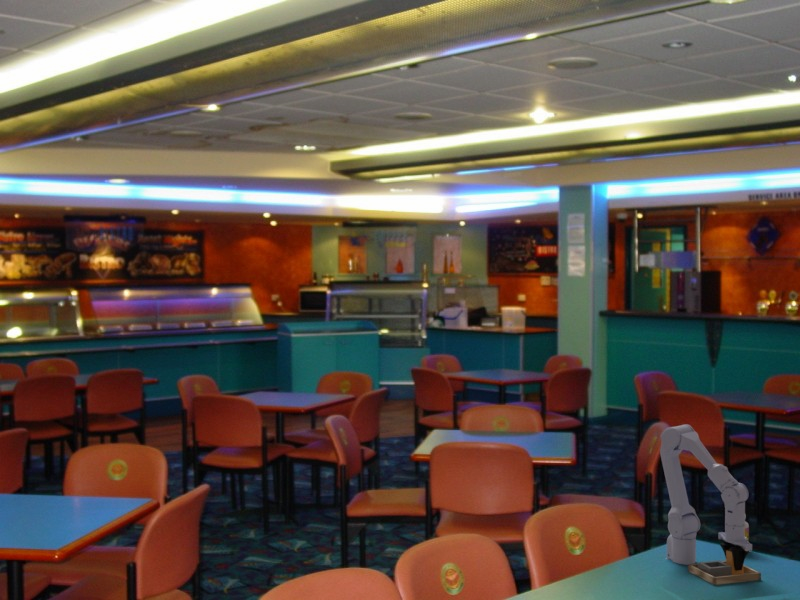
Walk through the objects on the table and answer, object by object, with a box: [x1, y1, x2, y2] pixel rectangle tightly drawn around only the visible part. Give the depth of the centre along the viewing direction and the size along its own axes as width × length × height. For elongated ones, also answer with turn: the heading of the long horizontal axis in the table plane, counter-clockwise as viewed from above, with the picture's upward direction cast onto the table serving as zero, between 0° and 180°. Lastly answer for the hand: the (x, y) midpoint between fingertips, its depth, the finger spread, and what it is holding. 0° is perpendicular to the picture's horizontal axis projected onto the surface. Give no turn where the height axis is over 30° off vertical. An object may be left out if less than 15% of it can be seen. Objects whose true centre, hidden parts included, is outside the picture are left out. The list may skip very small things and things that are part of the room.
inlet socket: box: [697, 560, 732, 577], centre depth 304 cm, size 6×7×4 cm
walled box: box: [687, 560, 762, 586], centre depth 305 cm, size 14×16×3 cm
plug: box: [725, 549, 743, 575], centre depth 306 cm, size 3×4×8 cm
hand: (734, 568), depth 306 cm, fingers closed on plug, 3 cm apart
